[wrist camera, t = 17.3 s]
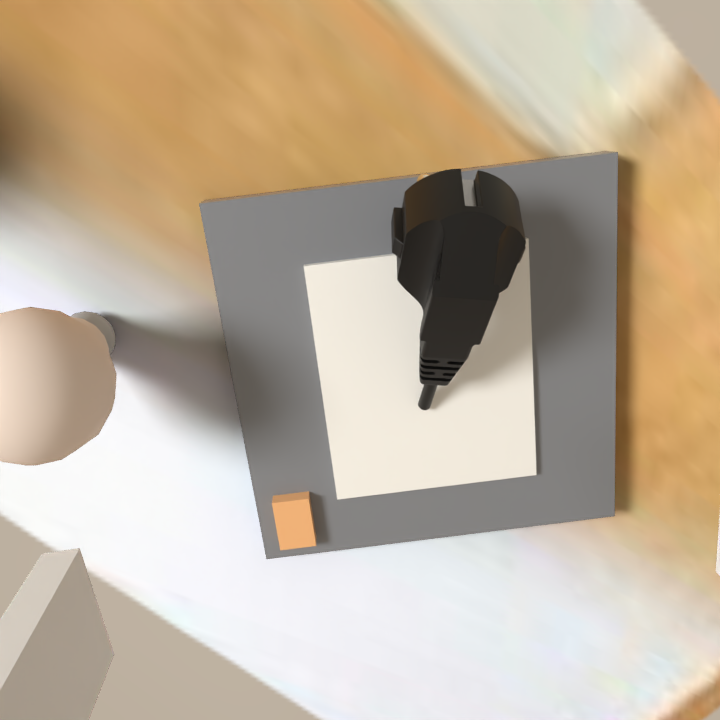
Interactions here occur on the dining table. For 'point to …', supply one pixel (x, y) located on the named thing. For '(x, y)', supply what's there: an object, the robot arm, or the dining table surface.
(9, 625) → the robot arm
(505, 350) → the socket board
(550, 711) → the dining table surface
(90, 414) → the light bulb
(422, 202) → the power plug
